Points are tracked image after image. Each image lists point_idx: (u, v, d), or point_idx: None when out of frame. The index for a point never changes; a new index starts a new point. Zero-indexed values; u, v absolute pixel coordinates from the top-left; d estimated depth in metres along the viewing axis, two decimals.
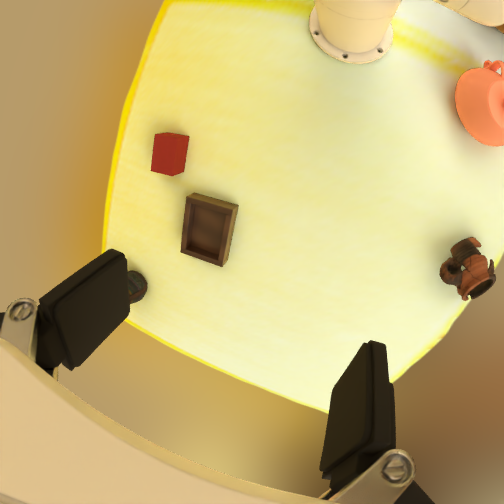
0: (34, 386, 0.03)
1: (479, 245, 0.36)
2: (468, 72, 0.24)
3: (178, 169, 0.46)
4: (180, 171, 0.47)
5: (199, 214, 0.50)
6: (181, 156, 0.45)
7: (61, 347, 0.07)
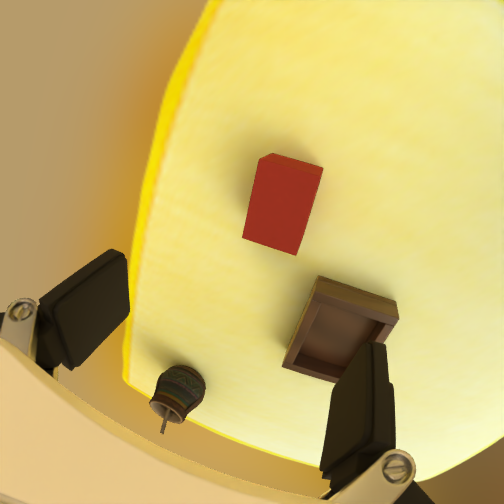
0: (34, 386, 0.03)
1: None
2: None
3: None
4: (301, 239, 0.24)
5: (324, 313, 0.27)
6: (310, 211, 0.22)
7: (61, 347, 0.07)
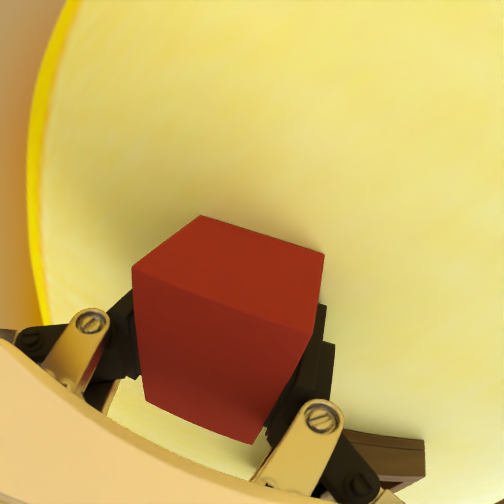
0: (34, 386, 0.03)
1: None
2: None
3: None
4: None
5: None
6: None
7: (130, 358, 0.08)
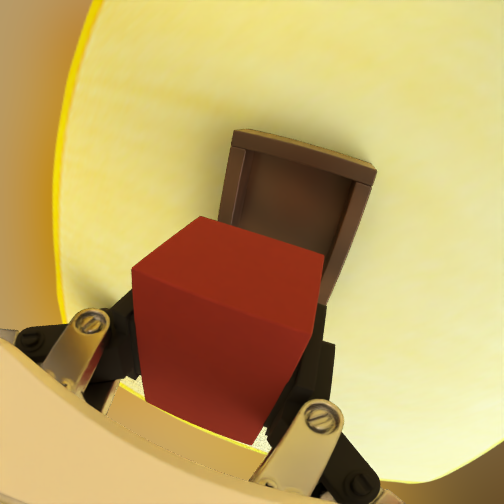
0: (34, 386, 0.03)
1: None
2: None
3: None
4: None
5: (262, 185, 0.19)
6: None
7: (131, 357, 0.08)
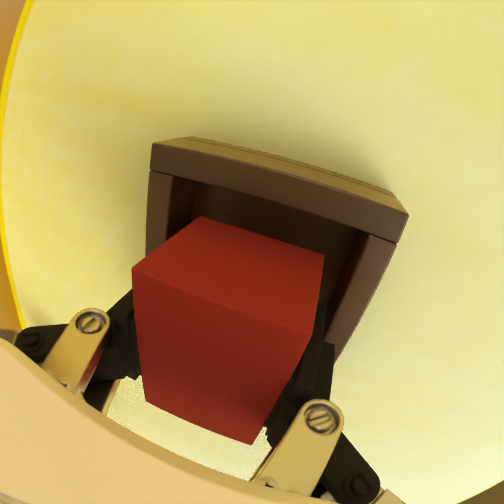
0: (34, 386, 0.03)
1: None
2: None
3: None
4: None
5: None
6: None
7: (131, 357, 0.08)
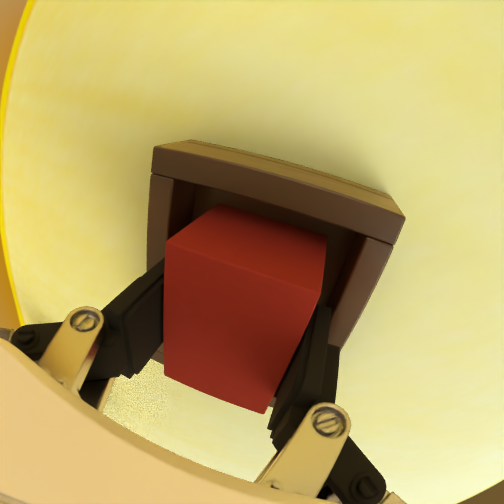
0: (34, 386, 0.03)
1: None
2: None
3: None
4: None
5: None
6: None
7: (125, 356, 0.08)
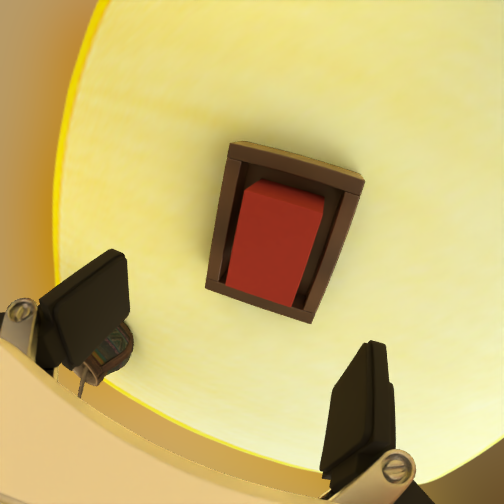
0: (34, 386, 0.03)
1: None
2: None
3: None
4: None
5: None
6: None
7: (61, 347, 0.07)
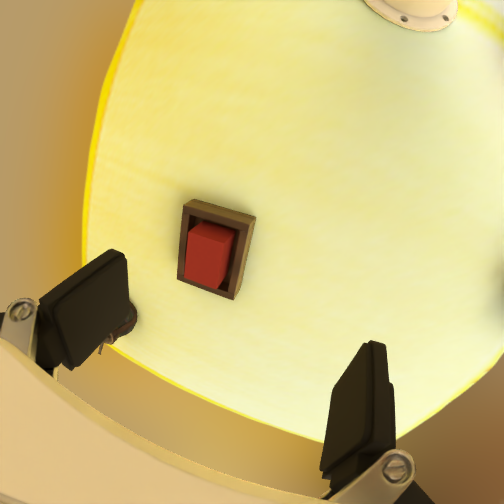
0: (34, 386, 0.03)
1: None
2: None
3: (222, 277, 0.36)
4: (224, 277, 0.37)
5: None
6: (226, 260, 0.35)
7: (62, 348, 0.07)
